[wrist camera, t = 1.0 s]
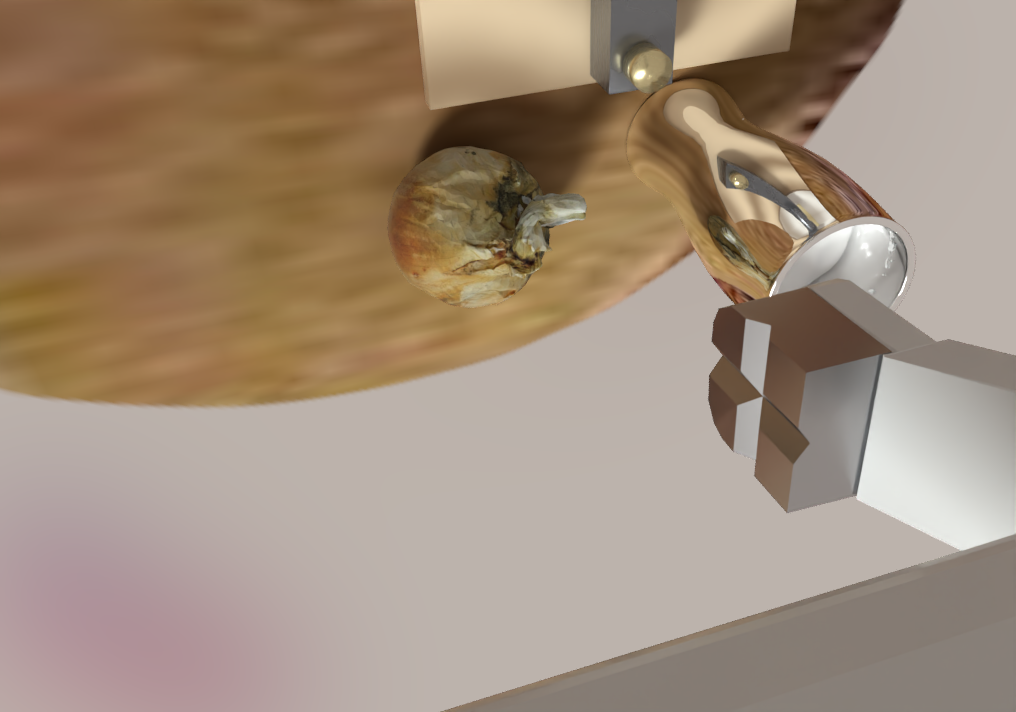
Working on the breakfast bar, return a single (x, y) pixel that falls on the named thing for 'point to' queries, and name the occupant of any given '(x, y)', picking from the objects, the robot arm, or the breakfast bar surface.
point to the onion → (473, 225)
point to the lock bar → (632, 44)
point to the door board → (570, 42)
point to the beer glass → (763, 201)
